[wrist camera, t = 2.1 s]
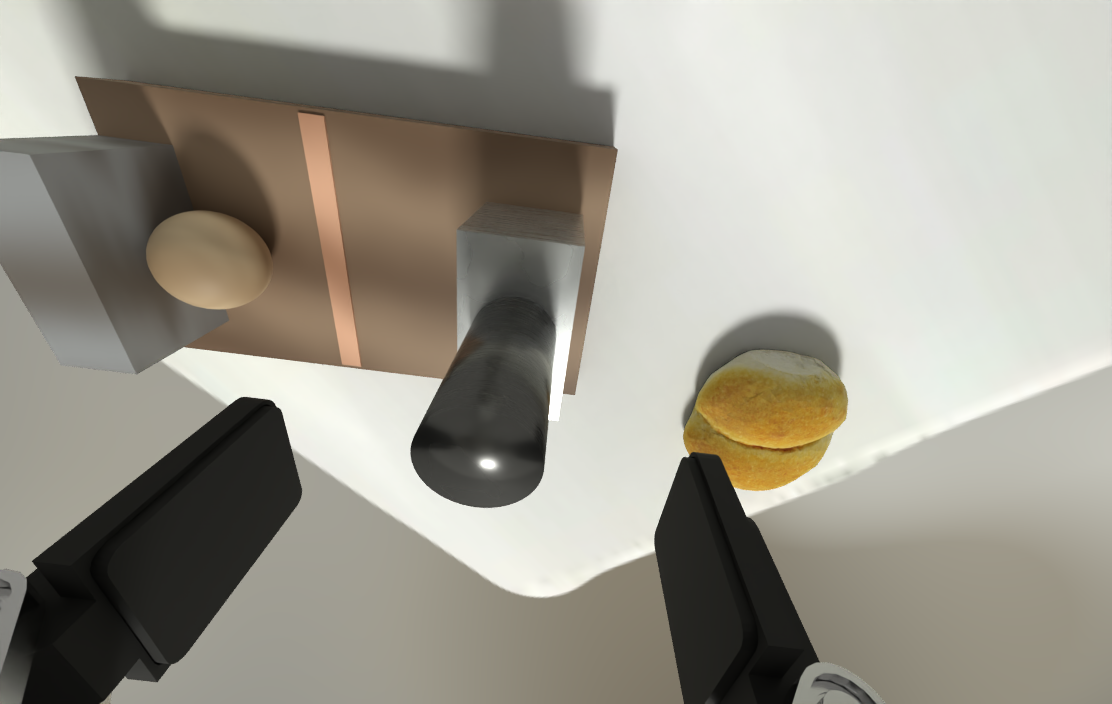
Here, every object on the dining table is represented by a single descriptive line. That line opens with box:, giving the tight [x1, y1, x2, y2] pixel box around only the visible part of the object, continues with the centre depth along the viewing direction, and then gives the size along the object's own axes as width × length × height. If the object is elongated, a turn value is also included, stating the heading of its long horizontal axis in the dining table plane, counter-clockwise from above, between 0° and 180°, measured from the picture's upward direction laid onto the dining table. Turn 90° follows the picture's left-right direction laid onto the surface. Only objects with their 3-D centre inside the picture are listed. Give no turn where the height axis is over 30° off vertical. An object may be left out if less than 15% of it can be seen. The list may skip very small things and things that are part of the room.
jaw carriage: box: [411, 202, 585, 508], centre depth 14 cm, size 7×4×11 cm, turn 173°
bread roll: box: [683, 349, 848, 491], centre depth 23 cm, size 8×9×4 cm
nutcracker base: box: [0, 76, 618, 395], centre depth 17 cm, size 12×21×7 cm, turn 83°
